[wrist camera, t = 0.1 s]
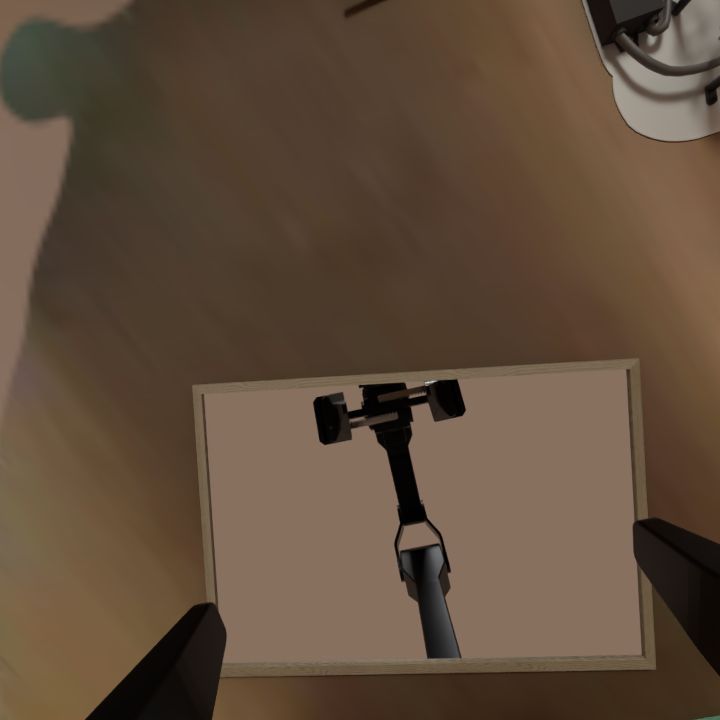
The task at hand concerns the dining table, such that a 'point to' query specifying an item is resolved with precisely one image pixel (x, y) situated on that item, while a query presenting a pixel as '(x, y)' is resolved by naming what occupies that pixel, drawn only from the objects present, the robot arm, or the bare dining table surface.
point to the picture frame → (427, 520)
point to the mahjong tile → (711, 718)
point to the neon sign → (661, 63)
